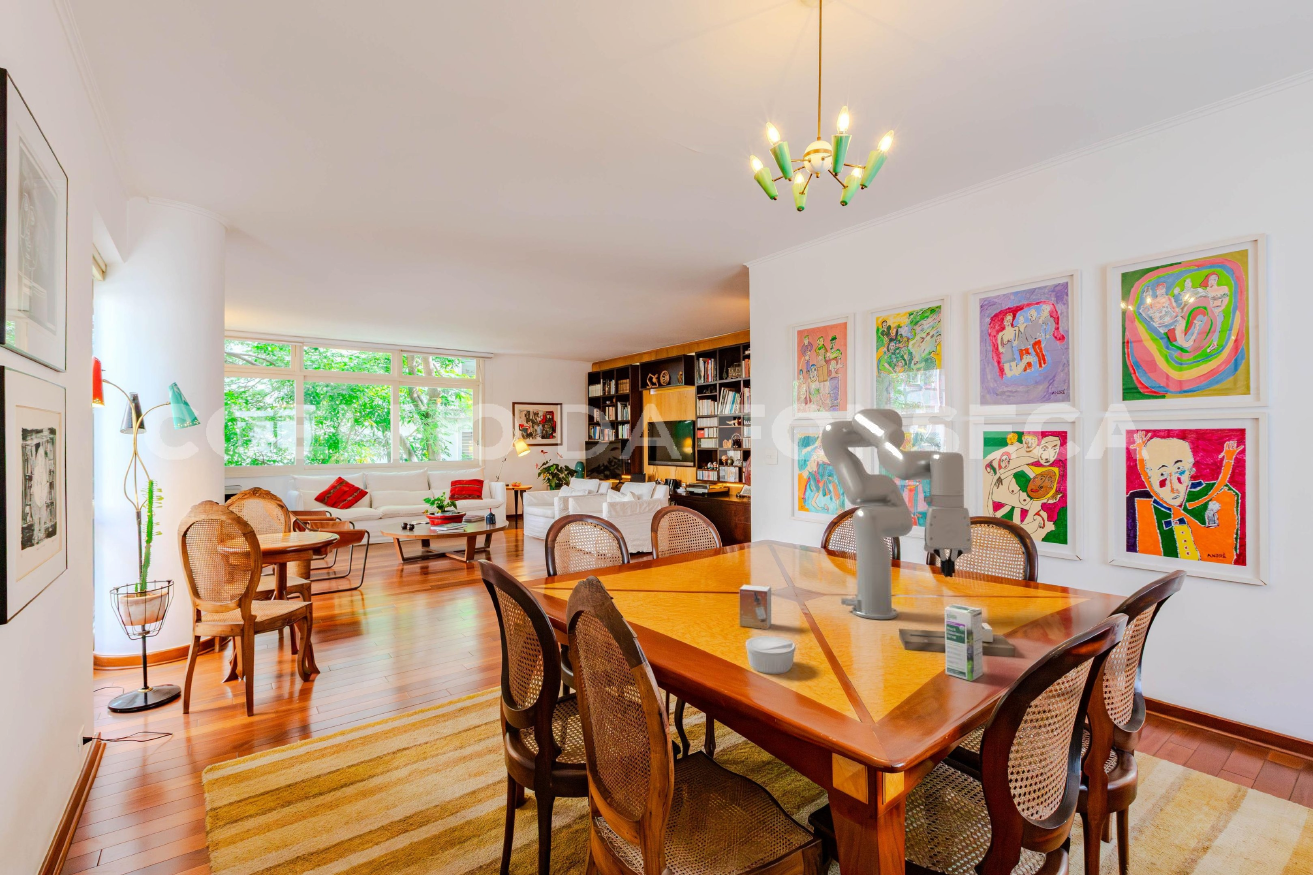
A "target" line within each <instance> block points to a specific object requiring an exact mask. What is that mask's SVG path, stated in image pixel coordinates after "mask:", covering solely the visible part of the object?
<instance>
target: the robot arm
mask: <svg viewBox="0 0 1313 875" xmlns="http://www.w3.org/2000/svg"><path fill="white" fill-rule="evenodd" d="M903 425H904V424H903V419H902V416H901V415H900V413H899V412H898V411H896V410H894V409H892V408H864V409H860V410H859V411H857V412H856V413H855V414H854V415H853V416H852V419H851V420H836V421H833V422H829V423H827V424H826V425H825V426H824V427H823V429H822V432H821V436H820V437H821V438H820V439H821V440H820V441H821V448H822V452H823V454H824V456H825V457H826V460H827V461H828V462H829V464H830V465H831V467H832V469H833V471H834V472H835V474H836V477H837V479H838V482H839V484H840V486H841V488H842V491H843V493H844V495H845V498H846V499H847V501H848V503H850V504H851V505H852V506H855V507H859V508H858V509H856V510H855V511H854V513H853V514H852V518H851V520H852V528H853V533H854V538H855V547H856V549H855V550H856V552H855V553H856V556H855V557H856V590H857V591H856V594H855V597H852V598H848V597H840V604H841V605H845V606H846V607H851V612H852V614H854V615H855V616H857V617H860V618H864V619H871V620H891V619H896V617H898V616H899V615H898V610H897V609H896V608H893V607H892V606H893V604H892V603H893V602H892V599H893V597H892V593H893V592H892V555H891V551H890V548H889V547H888V545H887V543H886V542H885V540H884V539H887V538H897V537H898V538H899V537H904V536H907V535H908V534H910V533H911V532H912V530H913V527H914V520H913V516H912V512H911V510H910V509H909V506H908V504H907V502H906V500H905V498H904V496H903V494H902V492H901V490H900V488H899V486H898V484H897V483H896V481H895V480H894V479H893V478H892V477H891V476H889V475H887V474H882V473H880V474H877V473H876V474H871V473H869V472H868V471H867V470H866V468H865V466H864V464H863V462H862V461H861V459H860V458H859V456H857V454H855V453H854V452H852V451H851V450H850V448H870V447H874V448H875V449H876V454H877V459H878V461H879V464H880V465H881V467H882V468H883V469H885V470H886V471H887V472H888V473H889V474H891V475H892V476H894V477H895V478H896V479H899V480H902V481H914V480H915V481H919V480H920V481H921V480H923V481H925V480H926V481H927V480H929V486H930V487H929V489H930V490H929V491H930V493H929V495H928V496H924V497H923V501H924V503H927V504H929V505H930V506H927V509H926V514H925V523H924V547H923V550H924V551H925V552H927V553H931V554H935V555H936V557H938V558H939V559H940V564H939V565H940V566H939V567H940V573H942V575H943V576H944V578H948V577H949V578H953V577H954V576H953V574H955V573H956V561H957V559H959V558H960V557H961V556H962V555H966V554H971V553H972V552H973V550H972V546H973V545H972V544H973V536H972V526H971V525H972V524H971V516H970V512H969V508H968V507H965V496H964V495H965V480H964V479H965V477H964V476H965V474H964V473H965V471H964V468H965V467H964V466H965V465H964V464H965V462H964V461H965V460H964V456H963V455H962V453H960V452H954V451H953V452H952V451H949V452H948V451H946V452H945V451H943V452H942V451H937V450H903V449H901V448H902V446H903V445H904V443H905V440H906V439H905V438H906V437H905V436H906V435H905V431H904V430H903ZM946 550H949V554H948V557H947V556H946Z"/></svg>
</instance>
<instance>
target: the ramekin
mask: <svg viewBox="0 0 1313 875" xmlns="http://www.w3.org/2000/svg"><path fill="white" fill-rule="evenodd" d="M745 649H746V650H747V651H746V653H747V660H748V663H749V666H750V667H751V669H753V670H754V671H756V672H759V673H763V674H767V675H770V674H771V675H777V674H778V675H779V674H780V675H781V674H784V673H787V672H789V671H790V670H791V668H792V667H793V663H794V657H795V652H796V644H795V643H794V642H793V641H792V640H791V639H787V638H786V637H782V636H781V637H780V636H773V635H760V636H754V637H751V638H747V640H746V641H745Z"/></svg>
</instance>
